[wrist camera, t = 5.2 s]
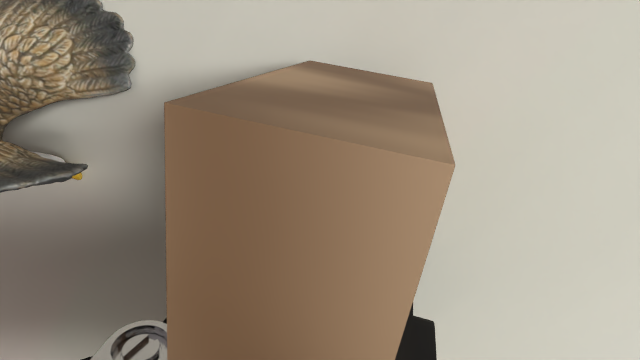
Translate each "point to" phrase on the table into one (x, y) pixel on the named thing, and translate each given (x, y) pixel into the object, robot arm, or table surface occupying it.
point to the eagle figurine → (55, 73)
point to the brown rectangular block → (300, 213)
